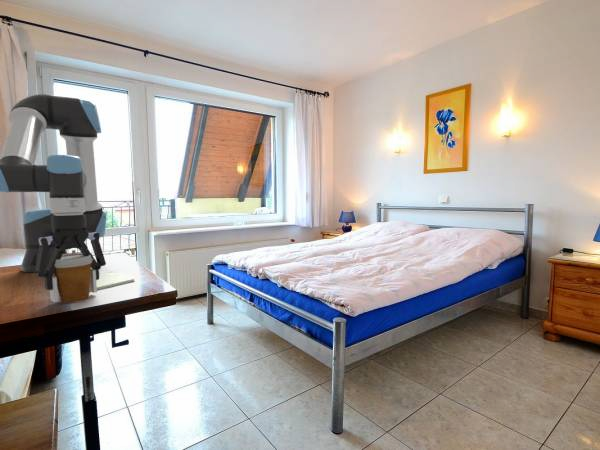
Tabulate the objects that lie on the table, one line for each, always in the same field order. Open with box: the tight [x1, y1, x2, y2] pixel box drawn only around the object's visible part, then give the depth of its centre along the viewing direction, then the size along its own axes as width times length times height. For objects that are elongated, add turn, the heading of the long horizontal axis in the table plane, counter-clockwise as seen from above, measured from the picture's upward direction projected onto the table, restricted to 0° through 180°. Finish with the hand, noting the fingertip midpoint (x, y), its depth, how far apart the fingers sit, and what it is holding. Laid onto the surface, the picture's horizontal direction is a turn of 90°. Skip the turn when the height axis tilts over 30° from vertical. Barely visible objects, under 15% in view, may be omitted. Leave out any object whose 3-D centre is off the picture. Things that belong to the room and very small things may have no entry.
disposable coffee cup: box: [53, 254, 93, 304], centre depth 87 cm, size 10×10×12 cm
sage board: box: [89, 272, 135, 293], centre depth 104 cm, size 16×14×1 cm
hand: (74, 296), depth 87 cm, fingers open, 9 cm apart
